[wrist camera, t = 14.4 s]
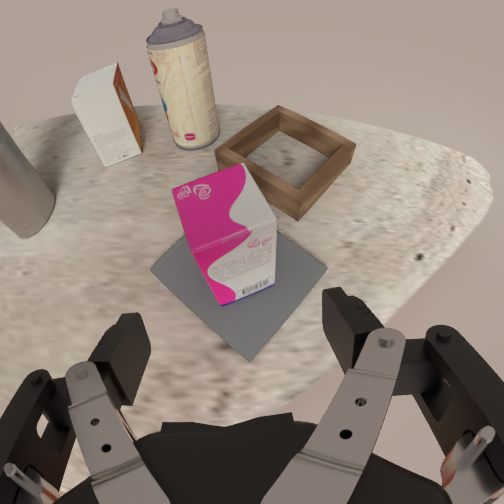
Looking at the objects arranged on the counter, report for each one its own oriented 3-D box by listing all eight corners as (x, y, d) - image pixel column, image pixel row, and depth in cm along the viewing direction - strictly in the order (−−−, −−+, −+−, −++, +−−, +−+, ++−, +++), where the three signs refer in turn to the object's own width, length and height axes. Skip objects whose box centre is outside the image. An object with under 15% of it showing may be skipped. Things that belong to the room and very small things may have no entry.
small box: (143, 154, 38) (113, 82, 26) (104, 168, 37) (68, 102, 25) (141, 124, 41) (118, 60, 30) (107, 137, 41) (78, 77, 29)
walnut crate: (218, 169, 35) (214, 150, 32) (277, 123, 39) (278, 105, 36) (297, 221, 31) (301, 202, 28) (350, 162, 35) (356, 144, 32)
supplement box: (252, 237, 30) (246, 159, 20) (275, 286, 28) (282, 222, 17) (200, 257, 29) (169, 186, 19) (219, 308, 27) (192, 257, 16)
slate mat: (151, 271, 29) (149, 269, 29) (226, 199, 33) (226, 196, 33) (250, 362, 25) (249, 361, 24) (326, 270, 29) (327, 267, 28)
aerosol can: (178, 123, 40) (149, 9, 23) (221, 119, 40) (205, -1, 22) (170, 152, 37) (130, 25, 19) (217, 148, 37) (194, 12, 19)
